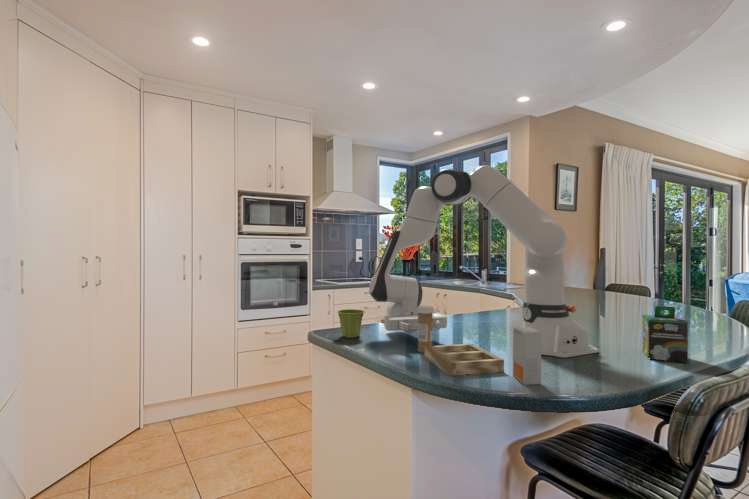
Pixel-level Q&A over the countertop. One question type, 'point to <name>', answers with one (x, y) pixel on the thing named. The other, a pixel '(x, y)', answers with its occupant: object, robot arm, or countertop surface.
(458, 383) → the countertop surface
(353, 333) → the plant pot
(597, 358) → the countertop surface
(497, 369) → the wooden compartment tray
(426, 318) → the sprinkles bottle
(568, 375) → the countertop surface
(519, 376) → the skincare box
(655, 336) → the chalk box
